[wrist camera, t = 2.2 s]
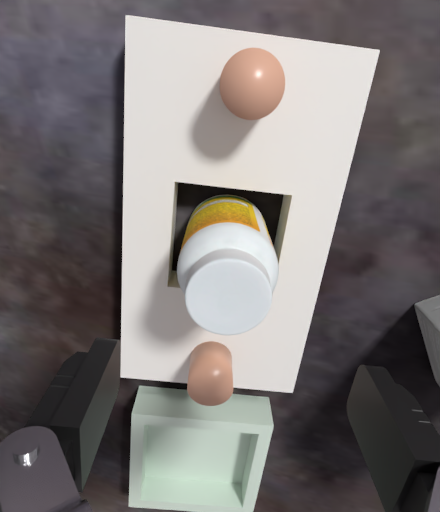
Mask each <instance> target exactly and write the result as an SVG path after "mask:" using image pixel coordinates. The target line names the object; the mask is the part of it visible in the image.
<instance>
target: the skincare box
mask: <svg viewBox="0 0 440 512" xmlns="http://www.w3.org/2000/svg"><path fill="white" fill-rule="evenodd" d="M414 307H415V311H416V314H417V318H418V322H419V325H420V329H421V332H422V336H423V339H424V343H425V346H426V350H427V353H428V357H429V361H430V364H431V367H432V371H433V374H434V378H435V380H436V382H437V384H438V385H439V387H440V295H438V296H436V297H433V298H430V299H427V300H424V301H421V302H418V303H416V304H415V305H414Z"/></svg>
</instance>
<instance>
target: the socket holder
mask: <svg viewBox="0 0 440 512" xmlns="http://www.w3.org/2000/svg"><path fill="white" fill-rule="evenodd" d="M379 52H380V50H375V49H368V48H361V47H354V46H347V45H339V44H332V43H325V42H318V41H310V40H303V39H296V38H289V37H281V36H274V35H267V34H260V33H253V32H245V31H238V30H231V29H224V28H216V27H209V26H202V25H195V24H187V23H180V22H173V21H166V20H159V19H151V18H144V17H137V16H130V15H126V26H125V95H124V164H123V233H122V302H121V371H120V377H122V378H133V379H144V380H156V381H167V382H178V383H187V391H188V394H189V396H190V397H191V398H192V400H194V401H195V402H197V403H199V404H201V405H205V406H216V405H220V404H222V403H224V402H226V401H227V400H228V399H229V398H230V397H231V395H232V393H233V388H244V389H255V390H266V391H277V392H288V393H293V390H294V386H295V382H296V378H297V374H298V370H299V366H300V362H301V358H302V354H303V350H304V346H305V342H306V338H307V335H308V331H309V327H310V323H311V319H312V315H313V311H314V307H315V303H316V299H317V295H318V291H319V287H320V284H321V280H322V276H323V272H324V268H325V264H326V260H327V256H328V252H329V248H330V244H331V240H332V236H333V232H334V229H335V225H336V221H337V217H338V213H339V209H340V205H341V201H342V197H343V193H344V189H345V185H346V181H347V178H348V174H349V170H350V166H351V162H352V158H353V154H354V150H355V146H356V142H357V138H358V134H359V130H360V126H361V123H362V119H363V115H364V111H365V107H366V103H367V99H368V95H369V91H370V87H371V83H372V79H373V75H374V72H375V68H376V64H377V60H378V56H379ZM178 182H182V183H190V184H199V185H207V186H216V187H225V188H233V189H242V190H250V191H259V192H267V193H276V194H284V196H283V201H282V206H281V211H280V217H279V222H278V227H277V233H276V238H275V243H274V249H275V252H276V256H277V260H278V265H279V274H278V280H277V284H276V287H275V289H274V291H273V293H272V303H271V307H270V309H269V311H268V314H267V315H266V317H265V318H264V319H263V320H262V322H261V323H260V324H258V325H257V326H256V327H254V328H253V329H251V330H249V331H247V332H244V333H241V334H237V335H220V334H215V333H211V332H209V331H207V330H205V329H203V328H202V327H200V326H199V325H198V324H197V323H196V322H195V321H194V320H193V319H192V318H191V316H190V315H189V313H188V311H187V308H186V304H185V295H184V294H183V292H182V290H181V288H180V285H179V282H178V277H177V271H173V270H172V262H173V249H174V235H175V222H176V208H177V195H178Z"/></svg>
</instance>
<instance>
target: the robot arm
mask: <svg viewBox="0 0 440 512" xmlns="http://www.w3.org/2000/svg"><path fill="white" fill-rule="evenodd" d="M120 364H121V342H120V340H116V339H106V338H96V339H95V341H94V343H93V345H92V346H91V348H90V350H89V352H88V353H85V352H76V353H75V354H74V355H73V356H71V357H70V358H69V359H67V360H66V361H65V362H64V363H63V365H62V366H61V368H60V370H59V371H58V373H57V376H55V378H54V380H53V381H52V383H51V386H50V387H49V388H48V389H47V391H46V393H45V394H44V396H43V398H42V399H41V401H40V403H39V404H38V406H37V408H36V409H35V411H34V412H33V414H32V416H31V417H30V419H29V421H28V422H27V424H26V426H25V427H24V428H23V429H20V430H17V431H15V432H13V433H12V434H10V435H9V436H7V437H6V438H5V439H4V440H3V441H1V443H0V512H93V511H92V509H91V507H90V505H89V503H88V501H87V500H83V501H82V499H81V497H80V495H79V493H78V492H83V489H84V486H85V484H86V481H87V478H88V475H89V472H90V470H91V467H92V464H93V461H94V458H95V456H96V453H97V450H98V447H99V445H100V442H101V439H102V436H103V433H104V431H105V428H106V425H107V422H108V419H109V417H110V414H111V411H112V408H113V406H114V403H115V400H116V397H117V394H118V390H119V384H120ZM347 415H348V419H349V422H350V424H351V427H352V429H353V432H354V434H355V437H356V439H357V442H358V444H359V447H360V449H361V452H362V454H363V457H364V459H365V462H366V464H367V467H368V469H369V472H370V474H371V477H372V479H373V482H374V485H375V487H376V490H377V492H378V495H379V497H380V500H381V502H382V505H383V507H384V510H385V512H440V435H439V434H438V432H437V431H436V429H435V428H434V426H433V425H432V424H430V420H429V418H428V417H427V415H426V414H425V413H424V412H423V409H422V408H421V406H420V405H419V403H418V402H417V400H416V398H415V397H414V396H413V395H412V394H411V393H410V392H409V391H408V390H406V389H405V388H404V387H403V386H402V385H401V384H395V382H394V380H393V379H392V377H391V375H390V374H389V372H388V371H387V369H386V368H385V367H379V366H369V365H360V366H359V367H358V369H357V372H356V375H355V378H354V381H353V384H352V388H351V391H350V394H349V397H348V400H347Z"/></svg>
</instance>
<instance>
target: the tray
mask: <svg viewBox="0 0 440 512" xmlns="http://www.w3.org/2000/svg"><path fill="white" fill-rule="evenodd" d="M273 427H274V425H273V419H272V413H271V407H270V401H269V397H261V396H250V395H239V394H232V395H231V397H230V398H229V399H228V400H227V401H226V402H224V403H222V404H220V405H216V406H205V405H201V404H199V403H197V402H195V401H194V400H192V398H191V397H190V396H189V394H188V391H187V390H183V389H172V388H161V387H149V386H139V389H138V392H137V396H136V400H135V403H134V407H133V410H132V415H131V447H130V479H129V507H138V508H152V509H166V510H179V511H193V512H253V510H254V506H255V502H256V498H257V494H258V489H259V485H260V481H261V477H262V473H263V468H264V464H265V460H266V456H267V452H268V448H269V443H270V439H271V435H272V431H273Z"/></svg>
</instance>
